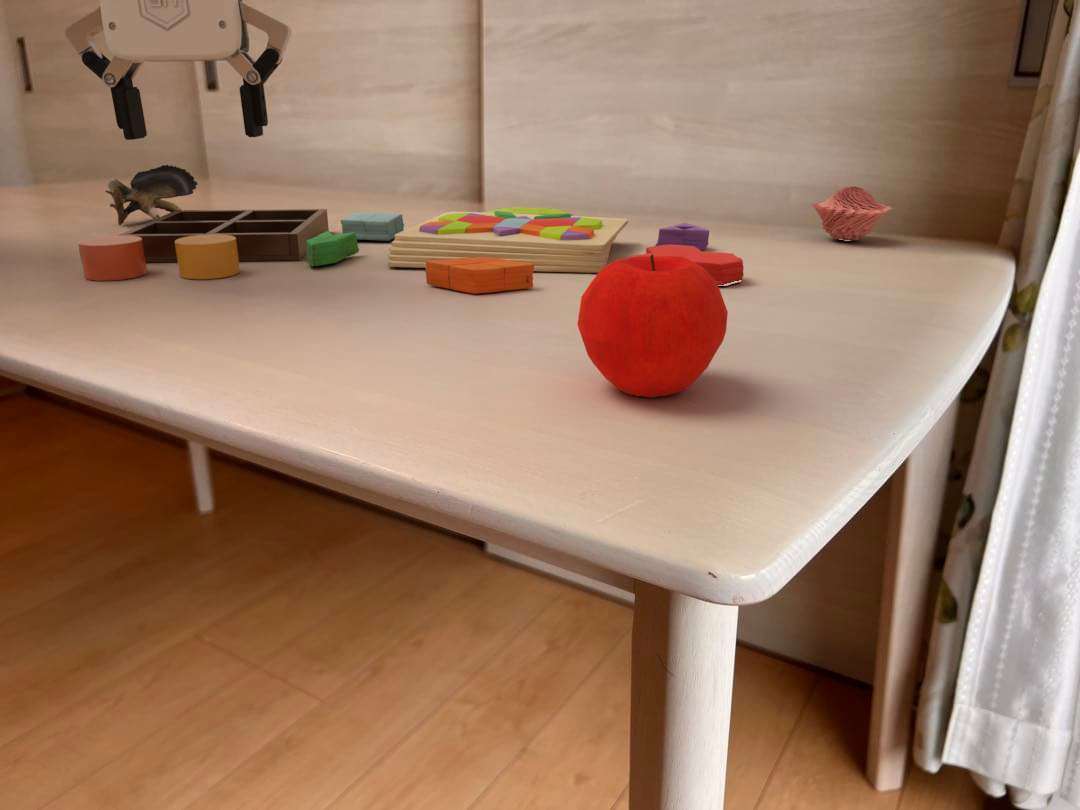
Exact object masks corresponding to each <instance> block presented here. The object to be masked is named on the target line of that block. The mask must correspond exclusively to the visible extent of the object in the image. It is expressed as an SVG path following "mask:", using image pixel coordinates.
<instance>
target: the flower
mask: <svg viewBox="0 0 1080 810" xmlns="http://www.w3.org/2000/svg"><path fill="white" fill-rule="evenodd" d="M875 199H876V198H875V197H873V194H872V193H869V191H868V190H866V189H864V188H863V187H860V186H848V187H847V186H846V187H844V188H841V189H840V190H837V191H836V192H834V194H833V195H832V196H831V197H829V198H828V199H826V200H824V201H822V202H819V201H817V202H815V203H810V205H811V207H812V208H814V209H815V212H817V214H818V216H819V218H820V219H821V220H822V223H821V225H822V229H823V230H825V233H826V234H829V237H832V239H833V240H839V239H843V240H857V241H859V240H860V239H864V238H865V237H866V235H869V234H871V232H872V228H873V227H875V226H876V225H877V223H878V222H879V220H880V219H881V218H882V217H883V216H884V215H885V214H886V213H888V212H890V211H891V210H893V209H894V208H893V207H892V206H891V205H885V204H880V202H877V201H876V200H875Z"/></svg>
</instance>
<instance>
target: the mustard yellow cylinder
mask: <svg viewBox="0 0 1080 810" xmlns="http://www.w3.org/2000/svg"><path fill="white" fill-rule="evenodd" d="M175 248H176V255H177V261H178V262H177V267H178V274H179V277H180V278H183V279H187V280H199V281H201V280H217V279H223V278H228V277H232V276H235V275H238V274H239V273H240V272H241V266H240V261H239V257H238V249H237V242H236V237H234V236H231V235H219V234H212V235H196V236H188V237H183V238H180V239H177V240H175Z"/></svg>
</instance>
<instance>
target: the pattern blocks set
mask: <svg viewBox="0 0 1080 810" xmlns="http://www.w3.org/2000/svg"><path fill="white" fill-rule="evenodd" d="M628 223H629V219H628V217H627V218H625V217H624V218H623V217H604V216H583V215H581V216H579V215H574V214H573V213H570V212H567V211H564V210H561V209H559V208H555V207H553V208H552V207H520V206H519V207H518V206H517V207H515V206H508V207H503V208H497V209H493V210H487V211H482V212H481V211H447V212H444V213H441V214H439V215H437V216H435V217H431V218H430V219H427V220H426V221H423V222H421V223H418V224H416V225H414V226H412V227H409V228H406V229H404V228H405V223H404V219H403V214H402V213H392V212H391V213H387V212H386V213H385V212H380V213H379V212H366V211H365V212H364V211H363V212H362V211H357V212H355V213H353V214H351V215H348V216H346V217H343V218H341V219H340V224H341V231H342V233H339V234H332V233H331V232H330V230H329V231H327V232H324V233H322V234H319V235H318V236H316V237H314V238H311V239H309V240H307V241H306V244H307V254H306V262H307V263H308V264H309V265H310V266H311V267H319V266H325V265H332V264H336V263H338V262H340V261H342V260H344V259H346V258H348V257H352V256H353V255H355V254H358V253H359V252H360V248H359V244H358V240H361V241H362V240H365V241H385V242H388V241H391V240H393V239H394V240H393V241H391V247H390V248H389V254H388V261H387V266H388V267H390V268H414V269H425V270H424V271H425V278H426V284H427V285H428V286H432V287H439V288H443V289H450V290H453V291H457V292H463V293H468V294H474V295H475V294H476V295H477V294H486V293H499V292H505V291H515V290H525V289H526V290H527V289H532V288H533V286H534V277H533V276H534V272H547V273H548V272H551V273H555V272H556V273H590V274H592V273H593V274H598V273H599V272H600V270H601V269H602V268H603V267H605V266H607V265H608V260H609V255H610V252H611V247H612V245H613V243H614V242H615V240H616V238H617V236H618V235H619V234H620V233H621V232H622V231H623V229H624V228H625V227H626V226H627V225H628ZM709 237H710V230H709V229H706V228H703V227H702V226H698V225H694V224H692V223H687V222H683V223H680V224H679V223H678V224H675V225H671V226H666V227H662V228H659V229H658V236H657V241H656V243H655V245H653V246H647V247H645V253H641V254H635V255H634V254H633V255H631V256H629V258H631V257H640V256H651V255H652V254H653V257H662V256H680V257H684V258H686V259H688V260H691V261H693V262H695V263H697V264H699V265H700V266H702V267H703V268H704V269H706V270H707V271H708V273H709V274H710V275H711V276H712V278H713V279H714V280H715V281H716V283H717V284H718V285H724V284H727V283H731V282H734V281H739V280H742V281H743V277H744V276H745V274H744V261H743V259H742V258H741V257H739V256H737V255H736V254H734V253H730V252H721V251H720V252H718V251H707V250H708V245H709Z"/></svg>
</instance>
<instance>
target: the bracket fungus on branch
mask: <svg viewBox="0 0 1080 810" xmlns="http://www.w3.org/2000/svg"><path fill="white" fill-rule="evenodd" d="M129 185H130V186H127V185H125V184H124V183H122V182H121V181H120V180H119V179H117V178H111V179H110V180H109V181H108V182H107V188H108V189H109V190H108V189H107V190H105V193H107V194H110V196H111V197H112V199H113V202H114V203H109V207H110V208H113V209H115V211H116V212H117V223H118V225H119V226H120V225H122V224H124V223H125V220H127V218H128V216H129V215H130V214H132V213H134V212H136V211H140V212H142V213H144V214H146V215H148V217H150V218H151V219H152V220H155V219H157V218H159V217H161V215H160V213H159V211H158V210H157V209H159V210H165V211H166V212H169V213H171V212H173V211H176V210H182V211H183V210H184V209H182V208H181V207H180V206H178V205H177V204H175V203H174V202H171V201H168V200H165V199H173V198H178V197H186V196H189V195H192V194H194V190H196V189H197V185H199V184H198V182H197V181H196V179H195V177H194V176H193V175H192V174H191V173H190V172H189V171H187V170H186V169H185V168H181V167H178V166H176V165H174V166H173V165H169V164H162V165H160V166H157V167H156V168H149V170H143V171H138V172H137V173H136V174H135V175H134V176H133V177H132V179H131V180H130V183H129ZM126 203H129V204H128V205H127V206H126V207H125V206H124V204H126Z"/></svg>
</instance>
